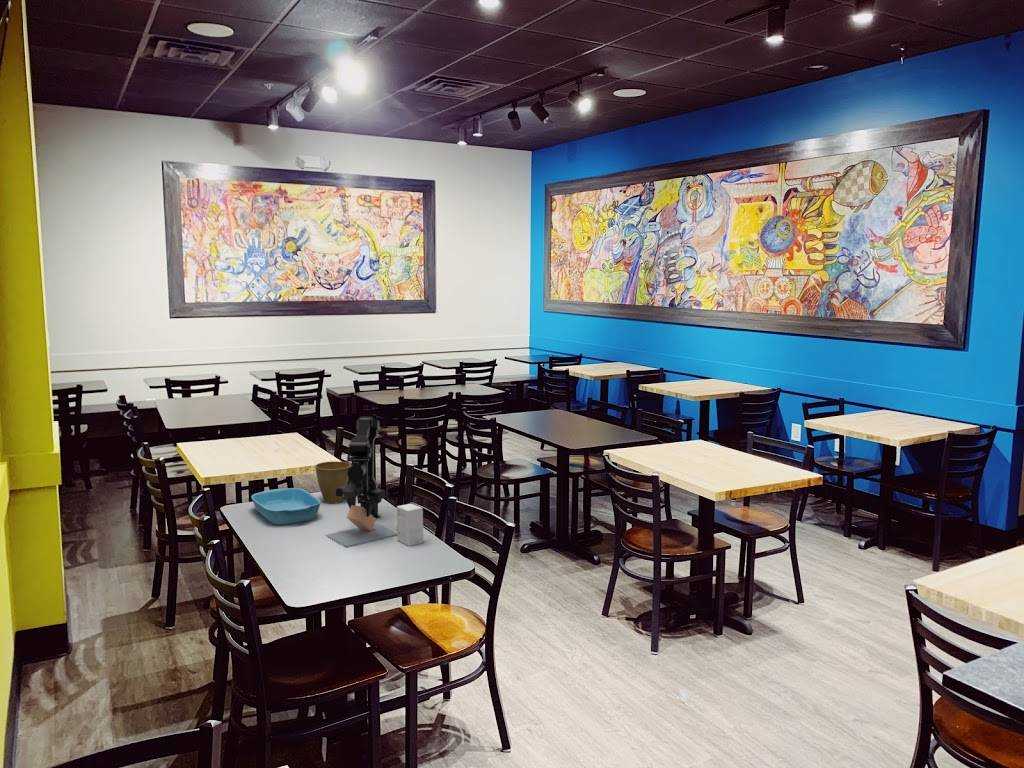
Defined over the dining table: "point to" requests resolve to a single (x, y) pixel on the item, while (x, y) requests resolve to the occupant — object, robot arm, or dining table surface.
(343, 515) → the dining table surface
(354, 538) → the mat
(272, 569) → the dining table surface
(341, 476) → the plant pot
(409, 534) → the small box
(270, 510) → the casserole dish
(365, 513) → the block
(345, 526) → the dining table surface
